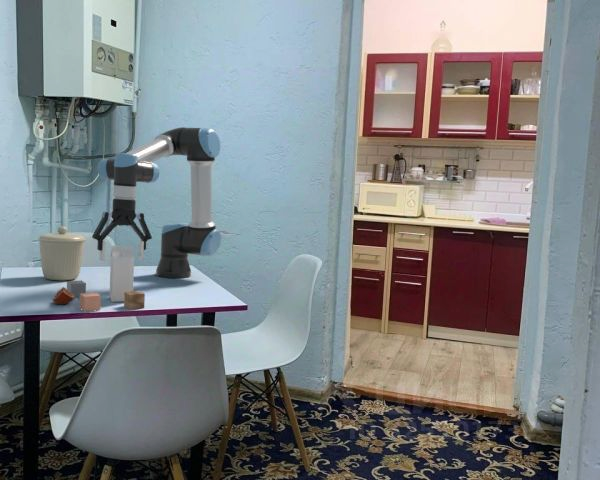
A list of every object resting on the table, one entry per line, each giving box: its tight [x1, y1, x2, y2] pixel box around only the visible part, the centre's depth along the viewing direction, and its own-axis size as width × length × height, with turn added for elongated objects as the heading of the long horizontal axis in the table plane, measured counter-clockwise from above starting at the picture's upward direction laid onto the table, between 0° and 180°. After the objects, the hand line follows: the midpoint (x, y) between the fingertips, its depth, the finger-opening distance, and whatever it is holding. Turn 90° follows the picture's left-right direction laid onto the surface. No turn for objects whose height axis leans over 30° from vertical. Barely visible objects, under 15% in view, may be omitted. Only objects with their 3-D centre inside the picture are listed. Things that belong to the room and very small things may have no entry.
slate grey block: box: [66, 279, 87, 298], centre depth 200 cm, size 5×5×5 cm
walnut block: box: [123, 290, 146, 310], centre depth 190 cm, size 5×5×5 cm
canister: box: [36, 226, 87, 282], centre depth 228 cm, size 18×18×21 cm
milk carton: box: [109, 245, 135, 303], centre depth 198 cm, size 7×7×19 cm
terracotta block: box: [78, 292, 101, 312], centre depth 183 cm, size 5×5×5 cm
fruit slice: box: [52, 286, 76, 305], centre depth 188 cm, size 8×7×5 cm
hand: (121, 259), depth 198 cm, fingers open, 13 cm apart
